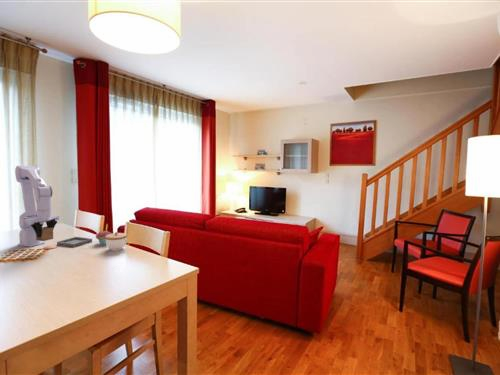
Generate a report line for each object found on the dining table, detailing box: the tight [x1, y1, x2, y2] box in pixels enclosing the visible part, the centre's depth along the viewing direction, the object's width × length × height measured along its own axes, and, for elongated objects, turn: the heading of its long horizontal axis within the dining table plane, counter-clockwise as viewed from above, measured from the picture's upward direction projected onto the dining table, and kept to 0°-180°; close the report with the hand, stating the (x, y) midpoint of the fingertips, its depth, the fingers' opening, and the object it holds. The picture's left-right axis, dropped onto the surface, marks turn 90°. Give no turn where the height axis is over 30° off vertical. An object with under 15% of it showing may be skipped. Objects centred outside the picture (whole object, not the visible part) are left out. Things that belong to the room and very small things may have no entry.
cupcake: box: [95, 223, 112, 245], centre depth 156 cm, size 9×8×12 cm
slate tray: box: [56, 236, 93, 248], centre depth 155 cm, size 12×12×2 cm
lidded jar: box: [105, 231, 128, 252], centre depth 147 cm, size 11×11×9 cm
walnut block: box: [36, 226, 54, 242], centre depth 138 cm, size 5×5×6 cm
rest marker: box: [43, 245, 58, 250], centre depth 145 cm, size 6×6×1 cm
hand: (44, 235), depth 139 cm, fingers closed on walnut block, 5 cm apart
